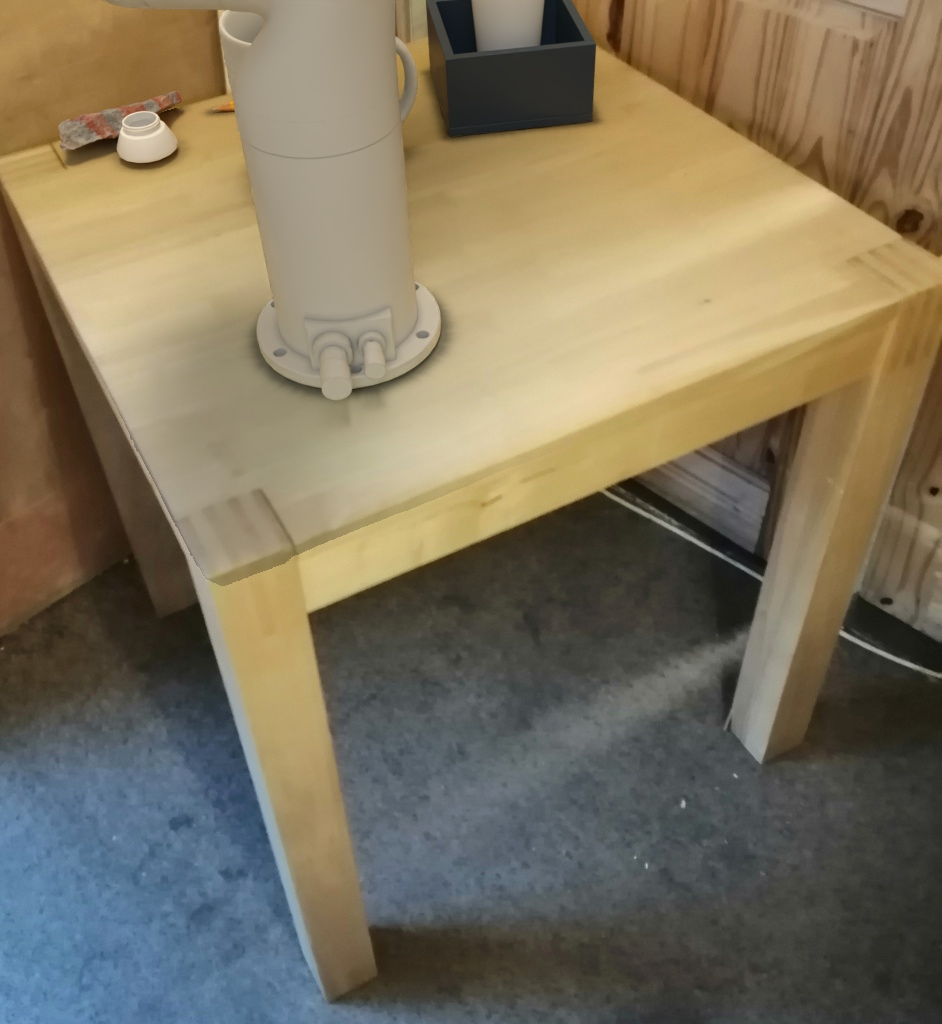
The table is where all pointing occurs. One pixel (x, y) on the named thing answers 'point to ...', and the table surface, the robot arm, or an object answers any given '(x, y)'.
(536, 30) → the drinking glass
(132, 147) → the lidless jar
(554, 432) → the table surface
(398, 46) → the mug
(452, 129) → the bin
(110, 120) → the stone
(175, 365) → the table surface
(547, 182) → the table surface
